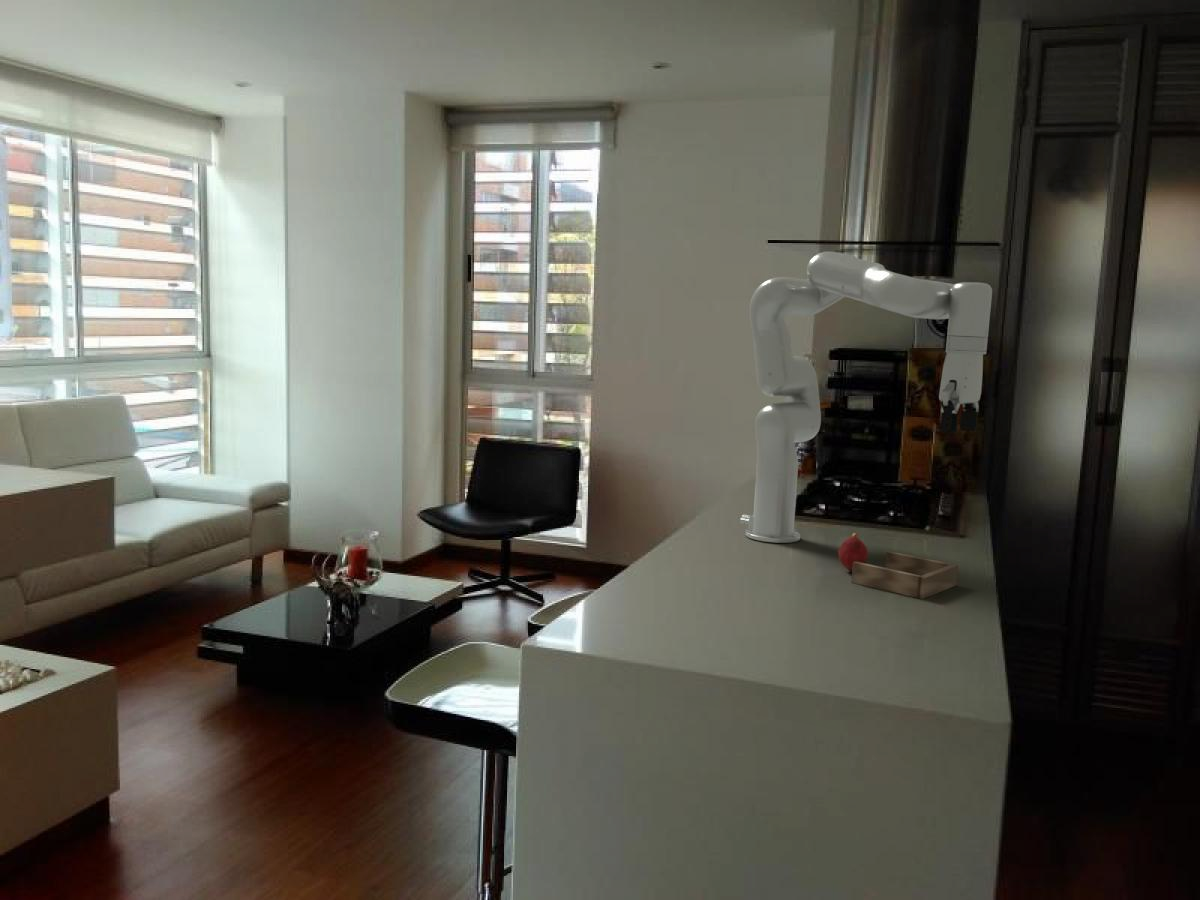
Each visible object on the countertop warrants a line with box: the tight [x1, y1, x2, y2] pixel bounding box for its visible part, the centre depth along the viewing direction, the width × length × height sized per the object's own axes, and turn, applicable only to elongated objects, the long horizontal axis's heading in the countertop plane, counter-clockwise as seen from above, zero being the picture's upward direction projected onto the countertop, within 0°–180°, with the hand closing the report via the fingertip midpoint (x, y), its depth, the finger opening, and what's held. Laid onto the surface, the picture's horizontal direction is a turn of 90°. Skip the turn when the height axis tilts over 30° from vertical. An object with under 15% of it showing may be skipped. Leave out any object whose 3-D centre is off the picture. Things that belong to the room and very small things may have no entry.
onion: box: [838, 533, 869, 573], centre depth 195 cm, size 6×6×8 cm
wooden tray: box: [851, 550, 959, 600], centre depth 188 cm, size 15×15×4 cm
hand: (958, 432), depth 191 cm, fingers open, 9 cm apart
